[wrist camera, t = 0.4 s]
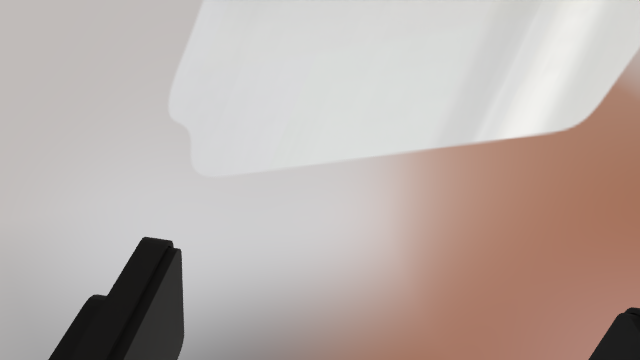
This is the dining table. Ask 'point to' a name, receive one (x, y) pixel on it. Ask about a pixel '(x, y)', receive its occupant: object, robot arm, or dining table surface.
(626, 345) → the robot arm
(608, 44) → the dining table surface
